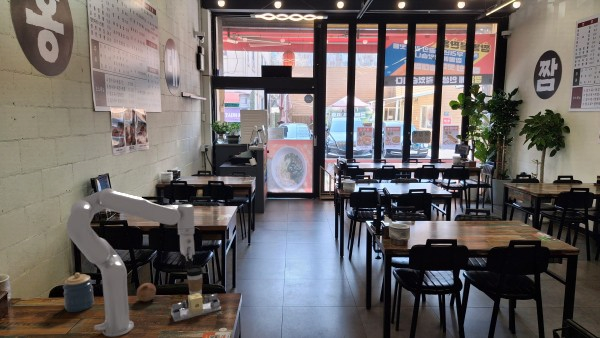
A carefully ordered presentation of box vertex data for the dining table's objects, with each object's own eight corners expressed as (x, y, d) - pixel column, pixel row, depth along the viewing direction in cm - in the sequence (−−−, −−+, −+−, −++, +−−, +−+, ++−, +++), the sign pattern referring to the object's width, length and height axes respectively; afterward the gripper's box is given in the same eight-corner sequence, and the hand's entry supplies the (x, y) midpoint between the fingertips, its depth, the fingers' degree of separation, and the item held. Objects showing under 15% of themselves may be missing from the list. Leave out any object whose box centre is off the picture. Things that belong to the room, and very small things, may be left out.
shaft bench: (174, 321, 180) (174, 307, 179) (170, 314, 187) (170, 300, 186) (220, 309, 191) (220, 295, 190) (215, 303, 198) (214, 289, 197)
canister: (99, 300, 203) (96, 267, 201) (85, 312, 191) (82, 277, 188) (74, 300, 204) (71, 268, 202) (59, 312, 191) (55, 278, 189)
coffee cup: (206, 292, 211) (204, 265, 209) (200, 299, 202) (199, 271, 200) (191, 292, 211) (189, 265, 210) (185, 299, 203) (183, 271, 201)
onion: (147, 308, 200) (144, 295, 194) (134, 300, 203) (130, 287, 198) (161, 295, 207) (158, 283, 201) (148, 288, 210) (145, 275, 205)
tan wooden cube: (203, 310, 188) (202, 296, 187) (191, 313, 185) (190, 299, 184) (199, 306, 193) (199, 292, 192) (188, 309, 190) (187, 295, 189)
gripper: (198, 234, 180) (199, 270, 182) (189, 225, 195) (190, 259, 197) (182, 236, 177) (182, 272, 178) (174, 227, 192) (175, 261, 193)
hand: (186, 265), depth 188 cm, fingers open, 9 cm apart
